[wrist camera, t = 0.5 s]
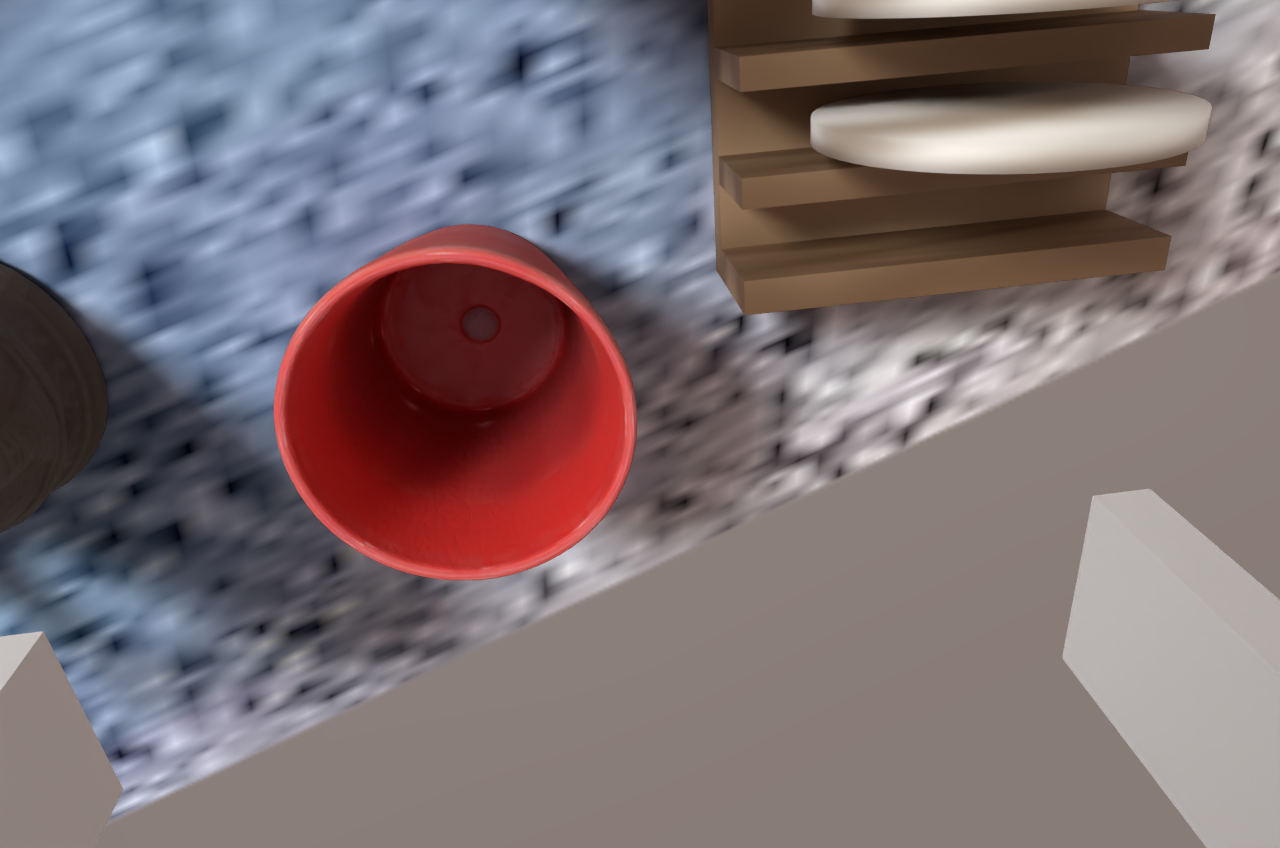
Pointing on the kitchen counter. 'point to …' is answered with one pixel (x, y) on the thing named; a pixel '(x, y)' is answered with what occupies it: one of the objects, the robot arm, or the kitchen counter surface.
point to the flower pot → (457, 408)
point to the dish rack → (935, 143)
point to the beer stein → (43, 398)
